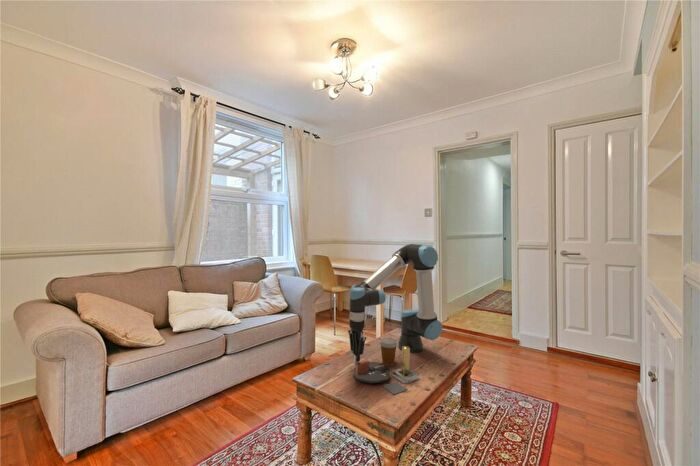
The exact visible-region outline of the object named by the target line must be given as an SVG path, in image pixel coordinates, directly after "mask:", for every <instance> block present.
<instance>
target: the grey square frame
mask: <svg viewBox="0 0 700 466" xmlns="http://www.w3.org/2000/svg"><path fill="white" fill-rule="evenodd" d="M392 377H394V378H395V379H397V380H398V381H399V382H401V383H402V384H404V385H406V384H410V383H411V382H414V381H418V380H419V379H420V378H419V373H418V372H416V371H414V370H412V369H410V368H409V375H408V376H403V375H402V367H401V368H398V369H395V370H393V371H392Z"/></svg>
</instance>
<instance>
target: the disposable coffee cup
mask: <svg viewBox="0 0 700 466" xmlns="http://www.w3.org/2000/svg"><path fill="white" fill-rule="evenodd" d="M379 345H380V351H381V360H382V361H381V363H382V364H384V365H386V366H393V365H395V359H396V351H397V347H398V342H397V340H396V339H395V338H390V337H384V338H381V339H380V341H379Z"/></svg>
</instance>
